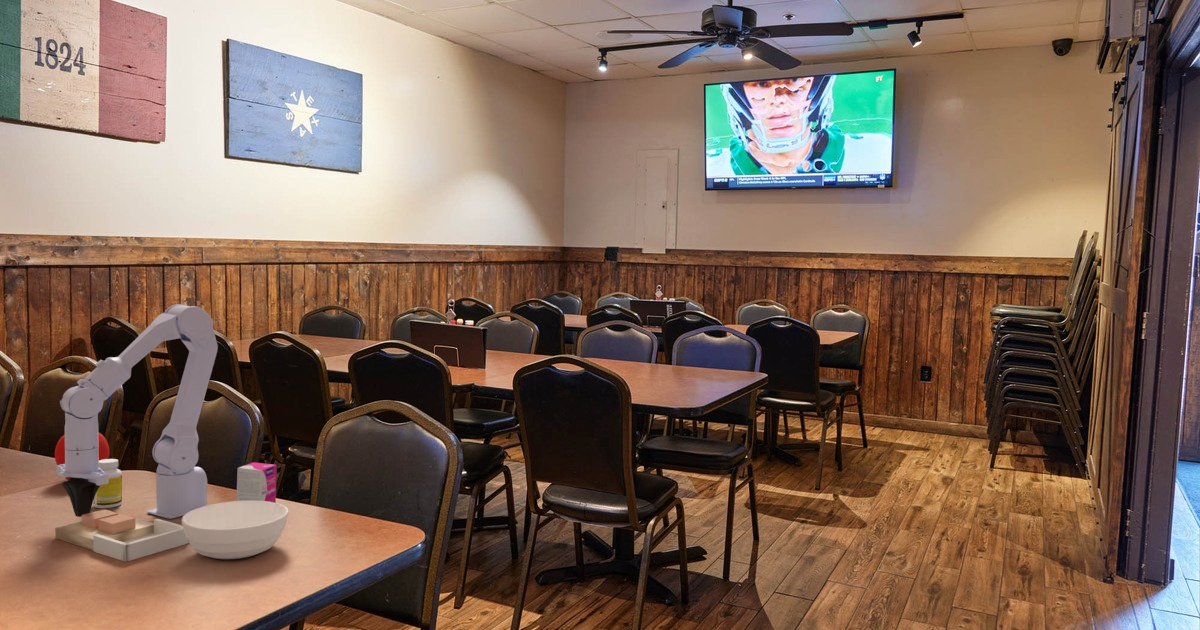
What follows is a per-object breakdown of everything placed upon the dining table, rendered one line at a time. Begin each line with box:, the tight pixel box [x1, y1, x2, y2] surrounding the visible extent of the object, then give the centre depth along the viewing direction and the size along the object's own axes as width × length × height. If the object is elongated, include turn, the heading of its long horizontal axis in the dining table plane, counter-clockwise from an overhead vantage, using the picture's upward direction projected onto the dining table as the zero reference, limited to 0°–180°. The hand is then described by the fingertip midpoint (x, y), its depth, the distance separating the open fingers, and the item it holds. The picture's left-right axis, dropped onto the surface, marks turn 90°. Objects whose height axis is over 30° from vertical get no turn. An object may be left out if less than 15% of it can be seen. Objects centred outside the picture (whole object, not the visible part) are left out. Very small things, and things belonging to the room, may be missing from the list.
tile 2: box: [99, 513, 137, 534], centre depth 166 cm, size 4×4×2 cm
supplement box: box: [236, 462, 278, 503], centre depth 181 cm, size 6×6×12 cm
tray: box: [93, 518, 190, 563], centre depth 163 cm, size 13×10×3 cm
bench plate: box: [54, 512, 154, 551], centre depth 168 cm, size 12×13×2 cm
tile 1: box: [81, 508, 119, 529], centre depth 169 cm, size 4×4×2 cm
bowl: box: [181, 500, 289, 560], centre depth 161 cm, size 18×18×7 cm
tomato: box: [54, 431, 110, 481], centre depth 206 cm, size 11×11×13 cm
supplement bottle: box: [92, 458, 123, 509], centre depth 188 cm, size 5×5×10 cm
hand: (82, 515), depth 172 cm, fingers closed
